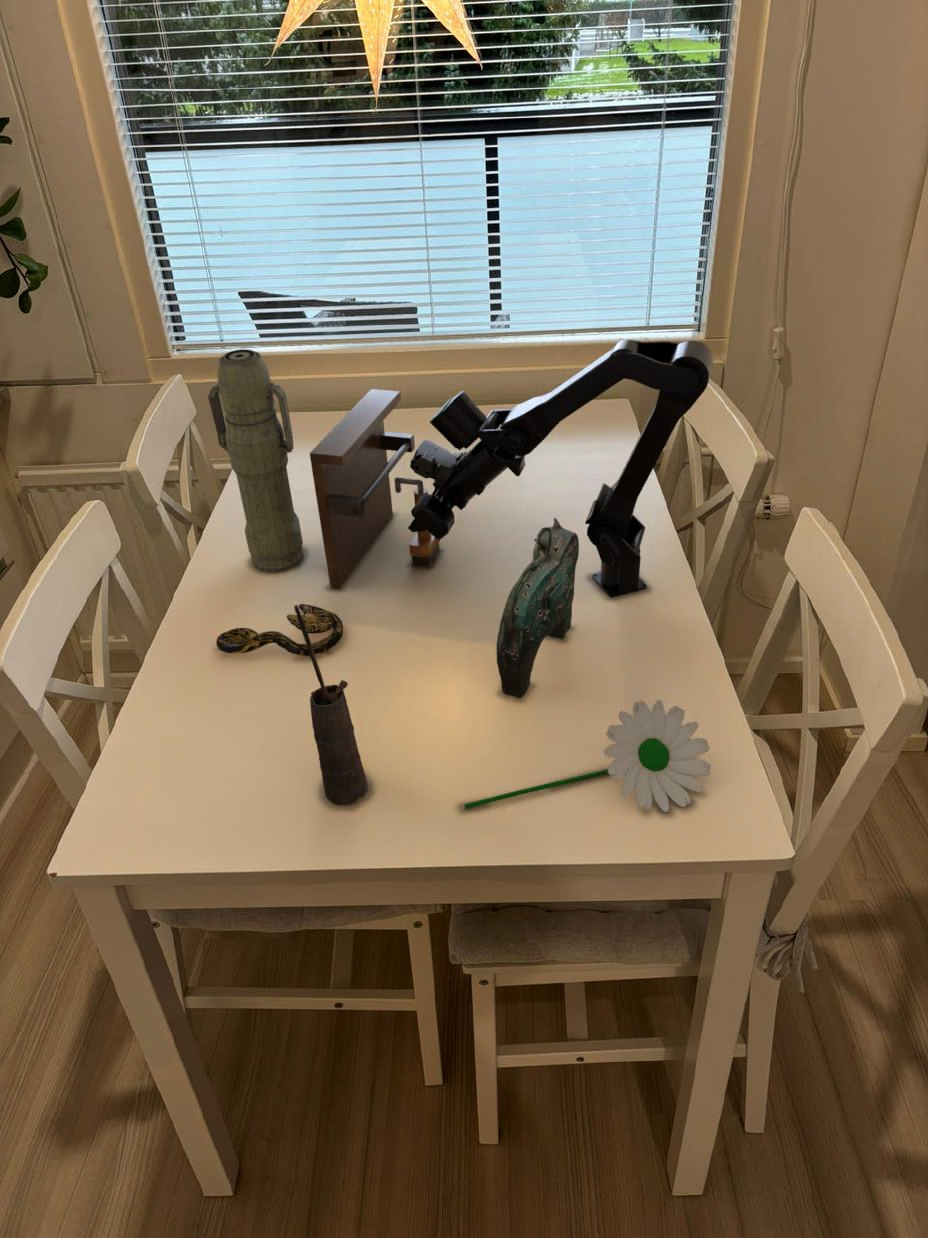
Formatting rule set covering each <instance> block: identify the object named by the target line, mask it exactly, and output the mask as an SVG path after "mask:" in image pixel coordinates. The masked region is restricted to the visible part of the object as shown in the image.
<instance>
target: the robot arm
mask: <svg viewBox="0 0 928 1238" xmlns="http://www.w3.org/2000/svg"><path fill="white" fill-rule="evenodd" d="M713 365H714V356H713V353H712V350H711V349H710V348H709V346H708V345H706V344H704V343H703V342H702V341H697V340H686V341H683V342H676V341H670V340H656V341H655V340H653V341H651V340H650V341H640V340H635V339H622V340H621V341H618V342H617V343H616V344H615V345H614V347H613V348H612V349H610V350H609V351H607V352H606V353H604V354H603V355H601V356H600V357H599V358H597V359H596V360H595V361H593V362H591V363H590V364H589V365H587V366H586V367H585V368H583V369H582V370H580V371H579V372H577V373H576V374H575V375H573V376H571V378H569V379H567V380H566V381H565V382H563V383H562V384H560V385H559V386H558V387H556V388H555V389H553V390H552V391H550V392H548V393H545V394H543V395H539V396H534V397H532V398H529V399H528V400H526V401H523V402H522V403H519V404H517V405H515V406H514V407H513V408H506V409H505V408H504V409H492V410H490V412H489V413H488V414H487V415H486V414H484V412H482V410H481V409H480V408H479V407H478V406H477V405H476V404H475V403H474V402H473V401H472V399H471V398H470V396H469V395H468V394H467V393H466V392H465V390H461V391H460V392H459V393H458V394H456V395H455V396H453V397H450V398H449V399H448V400H447V401H446V402H445V403H444V404H443V405H442V406H441V407H440V408H439V409H438V410H437V412H435V414H434V415H433V416H432V417H431V419H430V420H429V424H431V426H433V427H434V428H435V430H437V431H438V433H439V434H440V435H442V437H443V438H444V439H445V440H446V441H447V442H449V443H450V444H451V446H452V447H453V448H454V449H457V450H458V451H461V450H462V449H465V450H467V449H468V448H470V446H472V445H473V444H474V443H475V442H476V441H477V440H478V439H479V441H478V442H477V443H476V444H475V445H474V446H473V447H472V448H470V450H468V451H464V452H463V451H462V452H453V453H451V451H450V450H448V449H446V448H445V447H443V446H441V445H439V444H437V443H435V442H433V441H432V440H430V439H423V441H421V443H420V444H419V445H418V447H417V448H416V449H415V452H414V455H413V456H412V459H411V460H410V465H409V467H410V469H411V470H412V471H413V473H414V474H416V475H418V476H420V477H422V478H424V479H425V480H426V479H431V480H434V481H433V483H432V486H433V487H434V489H433V491H432V492H431V494H429V493H428V494H425V495H422V496H421V498H420V499H419V500H418V502H417V503H416V505H415V504H414V506H413V507H412V509H411V511H410V513H411V516H412V517H413V518H414V519H412V521H411V523H410V524H409V526H408V527H407V528H408V530H409V531H410V532H411V533H417V532H419V531H425V530H428V531H429V532H430V533H431V534H432V535H433V536H434V537H435V538H436V539H438V540H440V541H441V540H442V539H443V538H444V537H446V536H447V535H448V534H449V533H450V531H451V529H452V528H453V526H454V525H455V523H456V520H455V514H454V511H453V509H454V508H455V507H457V508H458V510H460V511H462V510H464V509H465V508H466V506H467V505H468V503H469V502H470V500H471V499H473V498H474V497H475V496H476V495H477V496H480V495H482V493H484V491H485V489H486V488H487V486H488V485H490V484H491V482H493V481H494V480H495V479H497V477H499V476H500V475H501V474H502V473H504V472H505V471H506V470H507V469H508V470H509V471H510V472H512V473H513V474H514V476H515V477H520V476H521V475H522V472H523V471H524V469H525V467H526V459H525V458H526V456H527V455H530V454H531V453H532V452H533V451H534V450H535V449H537V447H538V446H539V445H540V444H541V443H542V442H543V441H544V440H545V439H546V438H547V437H548V436H549V435H550V434H551V432H552V431H553V430H554V429H555V428H556V427H557V426H558V425H559V424H560V423H561V422H563V420H565V419H566V418H568V417H569V416H571V415H572V414H574V413H575V412H577V411H578V410H580V409H581V408H583V407H584V406H585V405H587V404H589V403H590V402H591V401H593V400H595V399H596V398H598V397H599V396H600V395H602V394H603V393H605V392H606V391H608V390H609V389H611V388H612V387H614V386H615V385H617V384H619V383H620V382H621V381H623V380H630V381H634V382H636V383H638V384H641V385H643V386H645V387H648V388H650V389H653V390H657V391H658V394H657V398H656V403H655V405H654V407H653V409H652V410H651V413H650V415H649V417H648V419H647V421H646V423H645V425H644V427H643V429H642V431H641V433H640V435H639V437H638V439H637V441H636V443H635V445H634V447H633V449H632V451H631V453H630V455H629V457H628V459H627V461H626V463H625V465H624V467H623V469H622V471H621V473H620V475H619V477H618V478H617V480H616V481H615V482H614V483H613V485H611V486H609V485H608V484H606V483H604V482H603V483H602V484H601V487H600V490H599V493H598V495H597V497H596V499H595V500H593V501H592V503H591V507H590V509H589V512H588V514H587V517H586V520H585V522H584V524H585V525H588V527H587V530H586V536H587V537H588V540H589V542H591V544H592V545H593V546H594V547H595V548H596V550H597V553H598V556H599V559H600V572H597V573H593V574H592V575H591V578H592V579H593V580H594V582H595V583H596V584H597V585H598V587H599V588H600V589H601V590H602V591H603V592H604V593H605V594H606V596H608V597H609V598H611V599H613V598H614V599H615V598H617V597H622V596H625V595H628V594H633V593H636V592H640V591H644V590H647V588H648V584H647V583H646V582H645V581H644V580H643V579H642V578H641V577H640V572H641V559H642V556H641V545H642V541H643V539H644V534H645V531H646V526H645V525H644V524H643V523H642V522H641V520H639V519H638V518H637V516H635V515H634V512H635V508H636V505H637V501H638V498H639V497H640V494H641V492H642V491H643V489H644V487H645V485H646V483H647V482H648V480H649V477H650V475H651V473H652V472H653V470H654V468H655V466H656V464H657V462H658V460H659V458H660V456H661V454H662V452H663V451H664V449H665V447H666V445H667V443H668V441H669V439H670V437H671V436H672V434H673V431H674V430H675V428H676V426H677V424H678V422H679V421H680V420H681V418H682V417H683V416H684V415H685V414H687V412H689V410H691V409H692V407H693V406H694V405H695V404H696V402H697V401H698V399H699V398H700V397H701V396H702V394H704V392H705V391H706V389H707V387H708V384H709V381H710V378H711V374H712V369H713V367H714V366H713Z"/></svg>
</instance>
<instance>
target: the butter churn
mask: <svg viewBox="0 0 928 1238" xmlns="http://www.w3.org/2000/svg"><path fill="white" fill-rule="evenodd" d="M293 607H294V608H293V609H294V612H295V615H297V619H298V622H299V625H300V628H301V630H302V631H301V630H300V631H301V634H302V636H303V639H304V643H305V644H306V645H307V648H308V651H309V654H310V656H309V657H310V660H311V663H312V667H313V669H314V672H315V675H316V678H317V681H318V682H319V686H320V687H319V688H317V689H315V690H314V691H311V693H310V697H309V704H310V715H311V723H312V724H311V725H312V729H313V737H314V741H315V744H316V749H317V753H318V760H319V769H320V771H321V779H322V785H323V790H324V795H325V798H326V799H327V801H329V802H330V803H331V804H333V805H336V806H346V805H347V806H348V805H353V804H356V803H357V801H358V799H359V798H364V797H365V796H366V795H367V793H368V791H369V784H368V783H369V782H368V779H367V776H366V772H365V769H364V765H363V762H362V759H361V754H360V752H359V748H358V743H357V740H356V736H355V727H354V724H353V722H352V718H351V713H350V710H349V709H350V708H349V705H348V702H347V698H346V694H345V691H344V690H345V689H346V688H347V687H348V685H349V683H348V682H347V681H346V680H343V679H341V681H340V682H339V683H338V684H331V685H330V684H328V685H325V682H324V678H323V674H322V673H321V669H320V666H319V664H318V663H319V662H318V660H317V657H316V655H315V654H314V651H313V648H312V641H311V638H310V635H309V634H310V633H308V631H307V628H306V625H305V622H304V620H303V618H302V615H303V614H302V612H301V610H300V608H299V605H298V604H295V605H294V606H293Z"/></svg>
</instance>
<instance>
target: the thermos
mask: <svg viewBox="0 0 928 1238" xmlns="http://www.w3.org/2000/svg"><path fill="white" fill-rule="evenodd" d="M216 378H217V384H215V385H214V386H213V387H211V389H210V391H209V393H208V396H207V399H208V403H209V406H210V411H211V414H212V418H213V422H214V427H215V430H216V434H217V439H218V445H219V447H221V448H222V449H223V450H224V451H225V452H227V454H228V458H229V461H230V466H231V469H232V471H233V472H234V473H235V475H236V479H237V483H238V484H237V485H238V488H239V494H240V499H241V504H242V509H243V513H244V518H245V527H244V534H245V539H246V543H247V548H248V552H249V554H251V563H252V566H253V567H254V568H255V569H256V570H258V571H260V572H264V573H273V574H274V573H283V572H286V571H289V570H292V569H294V568H296V567H298V566H299V565H300V564H301V563H302V562H303V561H304V558H305V554H304V553H305V552H304V549H303V544H304V541H303V536H302V530H301V523H300V518H299V516H298V515H297V513H296V511H295V508H294V503H293V497H292V492H291V491H292V490H291V486H290V485H291V484H290V480H289V474H288V468H287V466H288V463H289V456H288V453H292V452H293V450H294V436H293V429H292V423H291V417H290V411H289V406H288V405H289V404H288V400H287V393H286V392H285V391H284V390H283V388H282V387H281V386H280V385H277V384H275V383H274V382H271V376H270V370H269V367H268V366H267V364H266V362H265V361H264V359H263V357H262V354H261V353H259V352H258V351H255V350H252V349H247V348H245V349H244V348H243V349H241V348H240V349H235V350H231V351H229V352H226V353H225V354H223V355H222V356H220V358H219V359H218V366H217V375H216ZM274 396H275V397H276V398H277V399H278V405H279V411H280V417H281V421H280V419H279V418H278V416H277V410H276V409H275V406H274V405H275V399H274ZM220 398H221V399H220ZM223 411H224V412H225V417H224V413H223Z"/></svg>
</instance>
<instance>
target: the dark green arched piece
mask: <svg viewBox="0 0 928 1238" xmlns="http://www.w3.org/2000/svg"><path fill="white" fill-rule="evenodd" d="M534 541H535V542H536V543H535V545H534V548H533V552H532V559H533V560H532V561H531V562H530V563H529V564H528V565H527V566H526V567H525V569H524V570H523V572H522V573H521V575H520V576H519V577H518V579H517V581H516V582H515V583H514V585H513V587H512V589H511V590H510V592H509V594H508V597H507V599H506V602H505V604H504V608H503V611H502V615H501V619H500V623H499V628H498V634H497V638H496V665H497V669H498V673H499V674H498V675H499V678H500V684H501V685H500V686H501V692H502V694H504V695H506V696H510V697H514V698H517V699H518V700H519V699H522V698H523V697H524V696H525V695H526V693H527V691H528V690H529V688H530V686H531V676H532V672H533V668H534V664H535V660H536V658H537V656H538V653H539V649H540V647H541V646H542V643H543V641H544V640H545V638H546V637H550V638H554V639H557V640H562V641H563V640H564V638H566V634H567V633H568V632H569V631H570V629H571V626H572V618H573V603H574V602H573V601H574V597H575V579H576V568H577V563H578V560H579V554H580V543H579V542H580V541H579V536H578V534H577V533H576V532H573V531H571V530H568V529H566V528H564V527H562V526H561V524H560V522H559V520H558V519H557V518H556V517H553V525H552V526H548V527H547V526H545V527H541V529H540V530H539V531H538V533H537V535H536V538H534Z"/></svg>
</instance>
